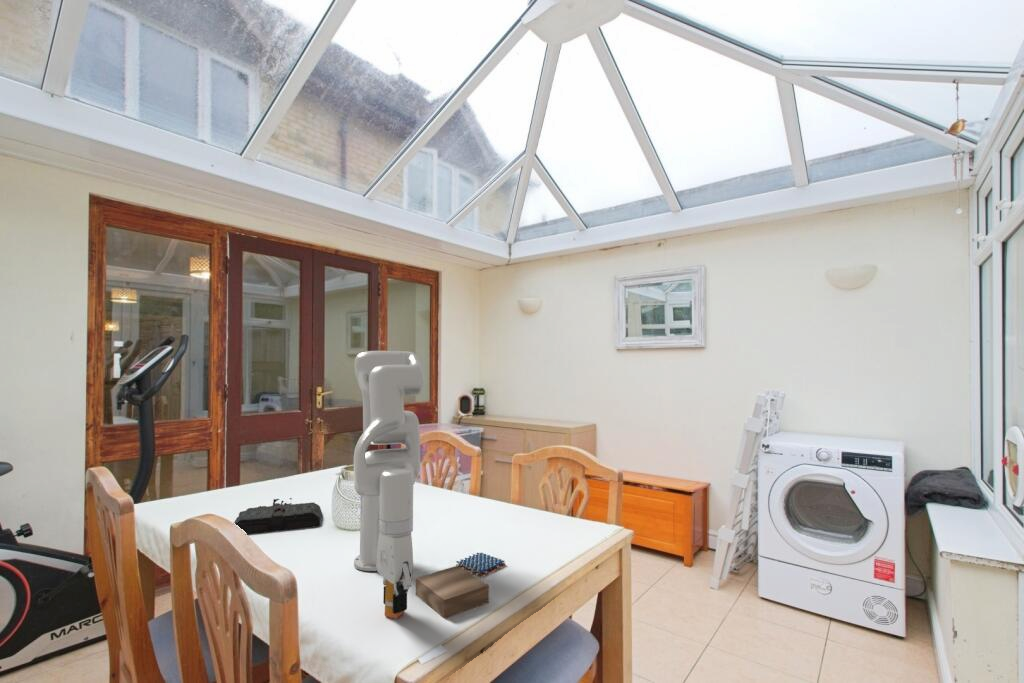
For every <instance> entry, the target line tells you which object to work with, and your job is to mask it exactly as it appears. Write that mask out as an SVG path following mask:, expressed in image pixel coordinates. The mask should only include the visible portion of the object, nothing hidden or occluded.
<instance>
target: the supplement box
mask: <svg viewBox="0 0 1024 683" xmlns="http://www.w3.org/2000/svg"><path fill="white" fill-rule="evenodd" d="M400 578H402V576H400ZM402 584H403V582H401V583H398V588H399V586H400V585H402ZM385 586H386V594H385V604H384V616H385V617H386V618H391V619H395V620H397V619H398V618H399V617H401V615H402V614H403V613H405V611H402V612H399V613H396V614H394V613H393V595H394V594H395V593H394V584H392V583H390V582H389V581H388V580H387V579H386V585H385Z"/></svg>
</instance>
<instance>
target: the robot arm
mask: <svg viewBox="0 0 1024 683" xmlns="http://www.w3.org/2000/svg"><path fill="white" fill-rule="evenodd" d="M354 373H355V374H354V375H355V379H356V381H357V384H358V387H359V389H360V391H361V395H362V432H363V433H362V434H361V435H360V437H359V439H358V440H357V441H356V442H357V443H356V445H355V448H354V450H353V452H354V453H353V484H354V486H353V487H354V490H355V492H356V494H357V495H359V496H360V506H359V507H360V519H359V521H360V523H359V525H360V526H359V527H360V529H359V555H357V556H356V557H355V558H354V560H353V566H354V568H356V569H358V570H359V571H365V572H378V573H379V575H381V576H382V577H383V578H382V580H383V581H382V583H383V601H382V602H383V604H384V605H385V594H386V579H387V580H388V581H389V582H390V583H392V584H394V593H395V594H394V595H393V613H394V614H396V613H399V612H402V611H404V612H405V611H407V609H408V593H409V589H410V588H411V587H412V586H413V584H412V580H411V579H412V577H413V572H414V554H413V553H414V552H413V550H414V549H413V537H412V532H413V531H414V485H415V482H416V480H417V479H418V478H419V476H420V473H421V438H420V437H421V432H420V421H419V418H418V416H417V415H416V413H415V412H414V411H411V410H405V405H404V404H405V402H404V397H409V396H410V397H411V396H413V397H415V396H416V397H417V396H419V395H421V394H423V393H424V390H425V384H426V380H425V378H426V377H425V374H424V369H423V367H422V364H421V362H420V360H419V358H418V356H417V355H416V353H415V352H412V351H407V350H404V351H403V350H402V351H401V350H368V351H363V352H360V353H358V354H357V355H356V357H355V359H354ZM397 444H398V445H399V444H401V445H402V446H403V448H402V447H401V448H400V447H399V448H384V449H383V448H381V449H372V450H369V451H367V450H368V447H369V446H370V445H373V446H374V445H375V446H377V445H378V446H379V445H381V446H382V445H383V446H384V445H397ZM400 576H402V578H400ZM401 582H403V584H402V585H400V586H399V588H398V583H401Z"/></svg>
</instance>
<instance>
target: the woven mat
mask: <svg viewBox="0 0 1024 683" xmlns="http://www.w3.org/2000/svg"><path fill="white" fill-rule="evenodd" d="M455 562H456V565H455V566H459V567H461V568H462V569H464V570H466V571H467V572H469V573H470V574H474V576H476V577H479V578H483V577H485V576H487V575H489V574H491V573H493V572H495V571H498V570H500V569H501V568H504V567H505V566H507V565H506V563H505V560H503V559H501V558H499V557H496V556H491V555H490V554H486V553H484V552H476V554H474V553H473V554H472V555H468V557H464V559H462V558H461V559H460V560H459V561H458V560H456V561H455Z"/></svg>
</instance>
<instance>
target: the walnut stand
mask: <svg viewBox="0 0 1024 683" xmlns="http://www.w3.org/2000/svg"><path fill="white" fill-rule="evenodd" d="M489 586H490V585H489V584H488V583H486V582H485V581H483V580H481V579H480V578H478V576H476V575H474V574H473V573H469V572H468V571H466V570H464V569H462V568H461V567H459V566H456V565H454V566H451V567H448V568H445V569H444V568H443V569H442V570H438V571H435V572H431V573H428V574H424V575H422V576H418V577H415V596H416V597H418V598H419V599H420V600H421V601H422V602H424V603H425V604H426V605H427V606H428V607H429V608H431V609H432V610H433V611H434V612H436V613H437V614H438V615H439V616H440V617H442V618H443V619H447V618H449V617H452V616H454V615H455V616H456V615H457V614H460V613H463V612H465V611H469V610H471V609H475V608H476V607H480V606H482V605H485V604H487V603H489V594H490V593H489Z"/></svg>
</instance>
